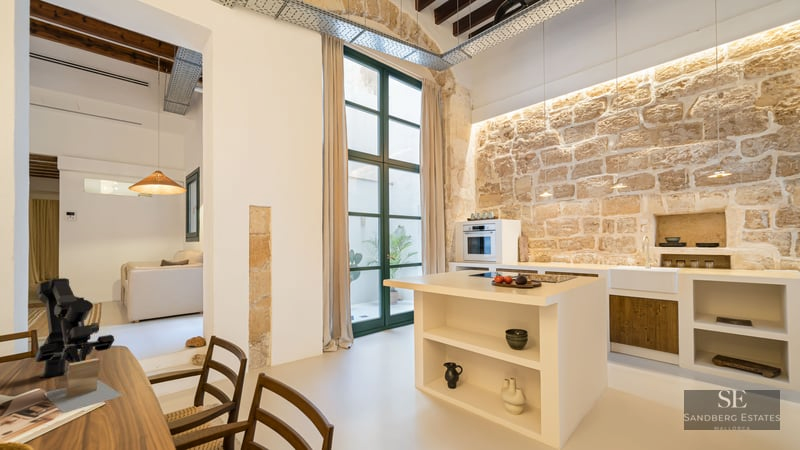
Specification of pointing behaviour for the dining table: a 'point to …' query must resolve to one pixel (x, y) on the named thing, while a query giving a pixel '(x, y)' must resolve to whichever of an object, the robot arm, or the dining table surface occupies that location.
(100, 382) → the rubber mat
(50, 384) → the dining table surface
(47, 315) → the robot arm
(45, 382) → the dining table surface
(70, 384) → the oak slab
